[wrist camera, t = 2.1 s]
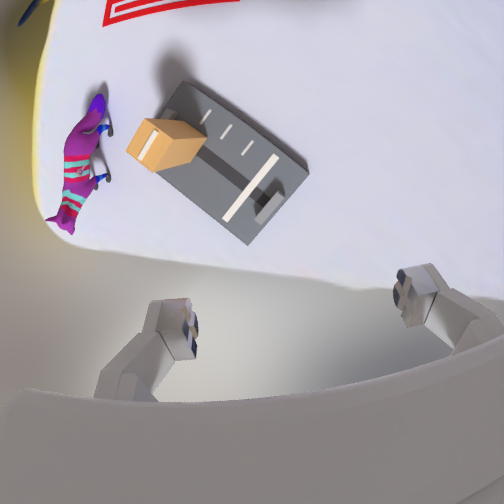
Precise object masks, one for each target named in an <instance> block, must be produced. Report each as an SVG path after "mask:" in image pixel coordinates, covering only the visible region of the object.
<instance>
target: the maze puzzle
mask: <svg viewBox="0 0 504 504" xmlns="http://www.w3.org/2000/svg"><path fill="white" fill-rule="evenodd" d="M121 1H124V0H107V4H106V9H105V14H104V20H103V25H102V27H104V26H107V25H110V24H114V23H117V22H120V21H124V20H127V19H131V18H135V17H139V16H143V15H147V14H151V13H156V12H161V11H166V10H171V9H176V8H182V7H188V6H195V5H203V4H211V3H222V2H234V1H240V0H186V1H180V2H175V3H170V4H165V5H160V6H155V7H151V8H147V9H143V10H139V11H135V12H131V13H128V14H124V15H121V16H118V17H114V18H111V19H109V18H110V12H111V7H112V4H115V3H118V2H121ZM157 1H162V0H138V1H134V2H131V3H127V4H124V5H121V6H118V7H115V13H116V12H120V11H123V10H126V9H130V8H133V7H137V6H141V5H145V4H149V3H153V2H157Z"/></svg>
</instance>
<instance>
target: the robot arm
mask: <svg viewBox="0 0 504 504" xmlns="http://www.w3.org/2000/svg"><path fill="white" fill-rule="evenodd" d="M396 277H397V279H398V282H397V283H396V284H395V285H394V289H393V299H394V302H395V305H396V307H397V308H399V309H400V310H402V314H401V317H402V319H403V321H404V323H405V325H406V327H407V328H408V327H413V326H417V325H422V324H424V325H425V326H426V327H427V328H429V329H430V330H431V331H432V332H434V333H435V334H436V335H437V336H438V337H440V338H441V339H442V340H443V341H445V342H446V343H447V344H448V345H449V346H450V347H452V348H453V349H454V350H453V352H452V354H451V355H450V356H449V357H446V358H443V359H440V360H437V361H434V362H431V363H429V364H425V365H422V366H419V367H416V368H412V369H408V370H405V371H402V372H398V373H395V374H391V375H387V376H383V377H379V378H375V379H371V380H366V381H362V382H358V383H353V384H348V385H344V386H339V387H333V388H328V389H323V390H316V391H310V392H304V393H298V394H290V395H282V396H274V397H265V398H255V399H244V400H230V401H211V402H158V401H157V400H156V398H155V397H154V396H153V395H152V394H153V393H154V391H155V390H156V388H157V387H158V386H159V384H160V383H161V381H162V380H163V378H164V377H165V376H166V374H167V373H168V372H169V370H170V369H171V367H172V366H173V365H174V363H175V361H180V360H193V359H196V353H197V344H196V341H195V339H196V338H197V337H198V321H197V317H196V314H195V312H193V311H192V303H191V301H190V299H189V298H179V299H165V300H154V301H151V302H150V304H149V307H148V311H147V315H146V318H145V322H144V326H143V330H142V333H138V334H137V335H136V336H135V337H134V338H133V339H132V340H131V341H130V342H129V343H128V344H127V345H126V346H125V347H124V348H123V349H122V350H121V351H120V352H119V353H118V354H117V355H116V356H115V357H114V358H113V359H112V360H111V361H110V362H109V363H108V364H107V365H106V366H105V367H104V368H103V369H102V370H101V372H100V376H99V380H98V383H97V386H96V390H95V394H94V398H90V397H81V396H74V395H67V394H60V393H54V392H48V391H43V390H37V389H32V388H23V389H21V390H20V391H19V392H17V393H16V394H15V395H14V396H13V397H12V398H11V399H10V400H9V401H8V402H7V403H6V405H5V406H4V407H3V408H2V409H1V412H0V504H504V327H503V325H502V324H501V322H500V320H499V319H498V317H497V316H496V314H495V313H494V312H493V311H491V310H490V309H488V308H486V307H484V306H483V305H481V304H480V303H478V302H476V301H474V300H473V299H471V298H469V297H467V296H466V295H464V294H462V293H460V292H459V291H457V290H455V289H453V288H452V289H450V288H449V286H448V285H447V283H446V282H445V281H444V279H443V278H442V276H441V275H440V274H439V272H438V271H437V269H436V268H435V267H434V265H433V264H431V263H428V264H423V265H420V266H413V267H408V268H403V269H399V271H398V272H397V276H396Z"/></svg>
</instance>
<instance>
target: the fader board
mask: <svg viewBox="0 0 504 504" xmlns="http://www.w3.org/2000/svg"><path fill="white" fill-rule="evenodd" d="M158 119H166V120H179V121H185V122H186V123H188V124H189V125H191V126H192V127H193V128H195V129H196V130H198V131H199V132H200V133H202V134H203V135H204V136H206V137H207V139H206V141H205V142H204V144H203V145H202V146H201V148H200V149H199V151H198V152H197V154H196V155H195V156H194V158H193V159H192V161H191V162H190V163H186V164H183V165H179V166H175V167H171V168H168V169H164V170H160V171H157V172H156V173H157V174H158V175H160V176H161V177H162V178H163V179H165V180H166V181H167V182H168V183H170V184H171V185H172V186H173V187H175V188H176V189H177V190H178V191H180V192H181V193H182V194H183V195H185V196H186V197H187V198H188V199H190V200H191V201H192V202H193V203H195V204H196V205H197V206H198V207H200V208H201V209H202V210H203V211H205V212H206V213H207V214H208V215H210V216H211V217H212V218H213V219H215V220H216V221H217V222H218V223H220V224H221V225H222V226H224V227H225V228H226V229H227V230H229V231H230V232H231V233H232V234H234V235H235V236H236V237H237V238H239V239H240V240H241V241H242V242H244V243H245V244H246V245H247V246H248V245H249V244H250V243H251V242H252V241H253V239H254V238H255V237H256V236H257V235H258V234H259V232H260V231H261V230H262V229H263V228H264V227H265V225H266V224H267V223H268V222H269V221H270V220H271V218H272V217H273V216H274V215H275V214H276V213H277V211H278V210H279V209H280V208H281V207H282V206H283V204H284V203H285V202H286V201H287V200H288V199H289V197H290V196H291V195H292V194H293V193H294V192H295V191H296V189H297V188H298V187H299V186H300V185H301V184H302V182H303V181H304V180H305V179H306V178H307V177H308V175H309V172H308V171H306V170H305V169H304V168H303V167H302V166H300V165H299V164H298V163H297V162H296V161H294V160H293V159H292V158H291V157H289V156H288V155H287V154H286V153H284V152H283V151H282V150H281V149H279V148H278V147H277V146H276V145H274V144H273V143H272V142H271V141H269V140H268V139H267V138H265V137H264V136H263V135H261V134H260V133H259V132H258V131H256V130H255V129H254V128H252V127H251V126H250V125H248V124H247V123H245V122H244V121H243V120H241V119H240V118H239V117H237V116H236V115H234V114H233V113H232V112H230V111H229V110H227V109H226V108H225V107H223V106H222V105H220V104H219V103H218V102H216V101H215V100H213V99H212V98H210V97H209V96H207V95H206V94H204V93H203V92H201V91H200V90H198V89H197V88H195V87H194V86H192V85H191V84H189V83H187V82H185V81H183V82H182V83H181V85H180V86H179V87H178V89H177V90H176V92H175V93H174V95H173V96H172V98H171V99H170V100H169V102H168V103H167V105H166V106H165V108H164V109H163V111H162V112H161V114H160V116H159V117H158Z"/></svg>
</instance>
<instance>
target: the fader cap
mask: <svg viewBox="0 0 504 504" xmlns="http://www.w3.org/2000/svg"><path fill="white" fill-rule="evenodd" d="M206 139H207V137H206V136H204V135H203V134H202V133H200V132H199V131H198V130H196V129H195V128H193V127H192V126H191V125H189V124H188V123H186V122H185V121H179V120H166V119H149V118H144V120H143V122H142V123H141V125H140V127H139V128H138V130H137V132H136V133H135V135H134V137H133V139H132V140H131V142H130V144H129V146H128V147H127V149H126V152H127V153H129V154H130V155H131V156H132V157H134V158H135V159H136V160H137V161H139V162H140V163H141V164H142V165H144V166H145V167H146V168H147V169H149V170H150V171H151V172H152V173H153V172H157V171H160V170H164V169H168V168H171V167H175V166H179V165H183V164H186V163H190V162H191V161H192V159H193V158H194V156H195V155H196V154H197V152H198V151H199V149H200V148H201V146H202V145H203V144H204V142H205V141H206Z"/></svg>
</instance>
